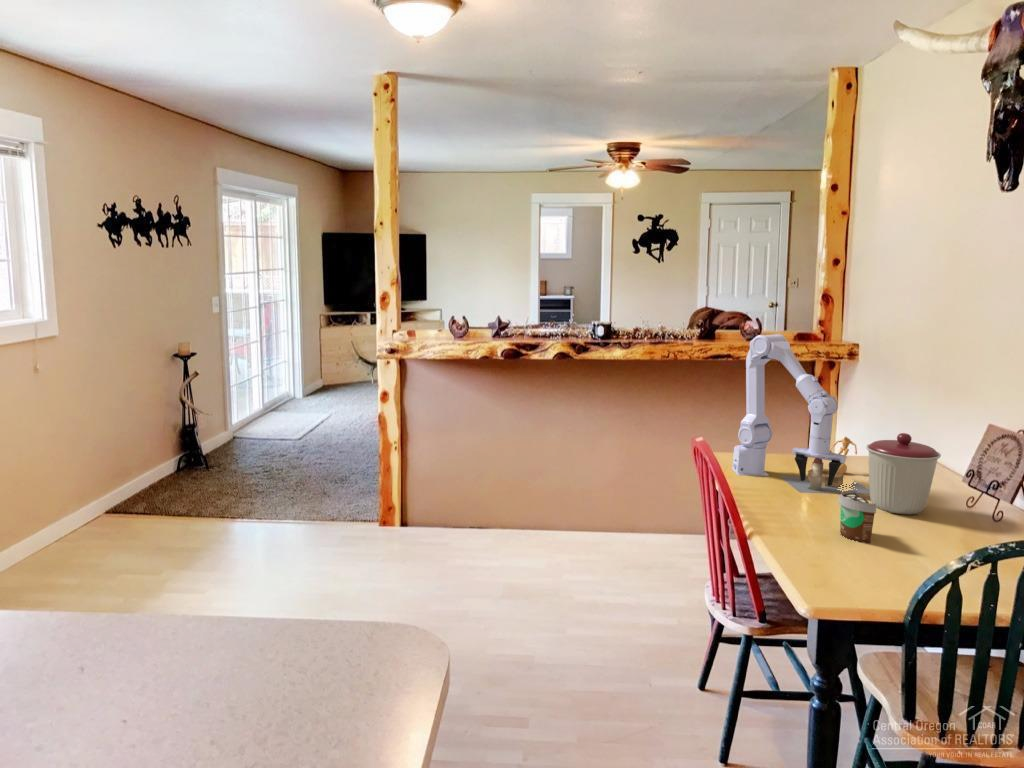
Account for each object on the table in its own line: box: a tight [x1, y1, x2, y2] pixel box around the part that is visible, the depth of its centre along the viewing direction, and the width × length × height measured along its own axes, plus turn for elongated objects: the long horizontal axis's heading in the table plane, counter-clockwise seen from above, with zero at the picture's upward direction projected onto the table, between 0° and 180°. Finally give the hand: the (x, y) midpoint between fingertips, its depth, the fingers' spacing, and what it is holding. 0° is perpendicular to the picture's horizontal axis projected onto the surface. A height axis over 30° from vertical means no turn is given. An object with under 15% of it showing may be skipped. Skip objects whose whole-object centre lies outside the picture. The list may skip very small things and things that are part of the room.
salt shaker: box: [810, 458, 825, 491], centre depth 230 cm, size 3×3×10 cm
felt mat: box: [779, 476, 870, 495], centre depth 236 cm, size 22×17×1 cm
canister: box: [865, 432, 942, 515], centre depth 214 cm, size 18×18×21 cm
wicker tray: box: [807, 468, 845, 487], centre depth 238 cm, size 9×9×3 cm
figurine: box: [830, 436, 858, 475], centre depth 250 cm, size 8×6×12 cm
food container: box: [837, 490, 877, 544], centre depth 191 cm, size 12×6×10 cm, turn 178°
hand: (816, 482), depth 230 cm, fingers open, 7 cm apart
